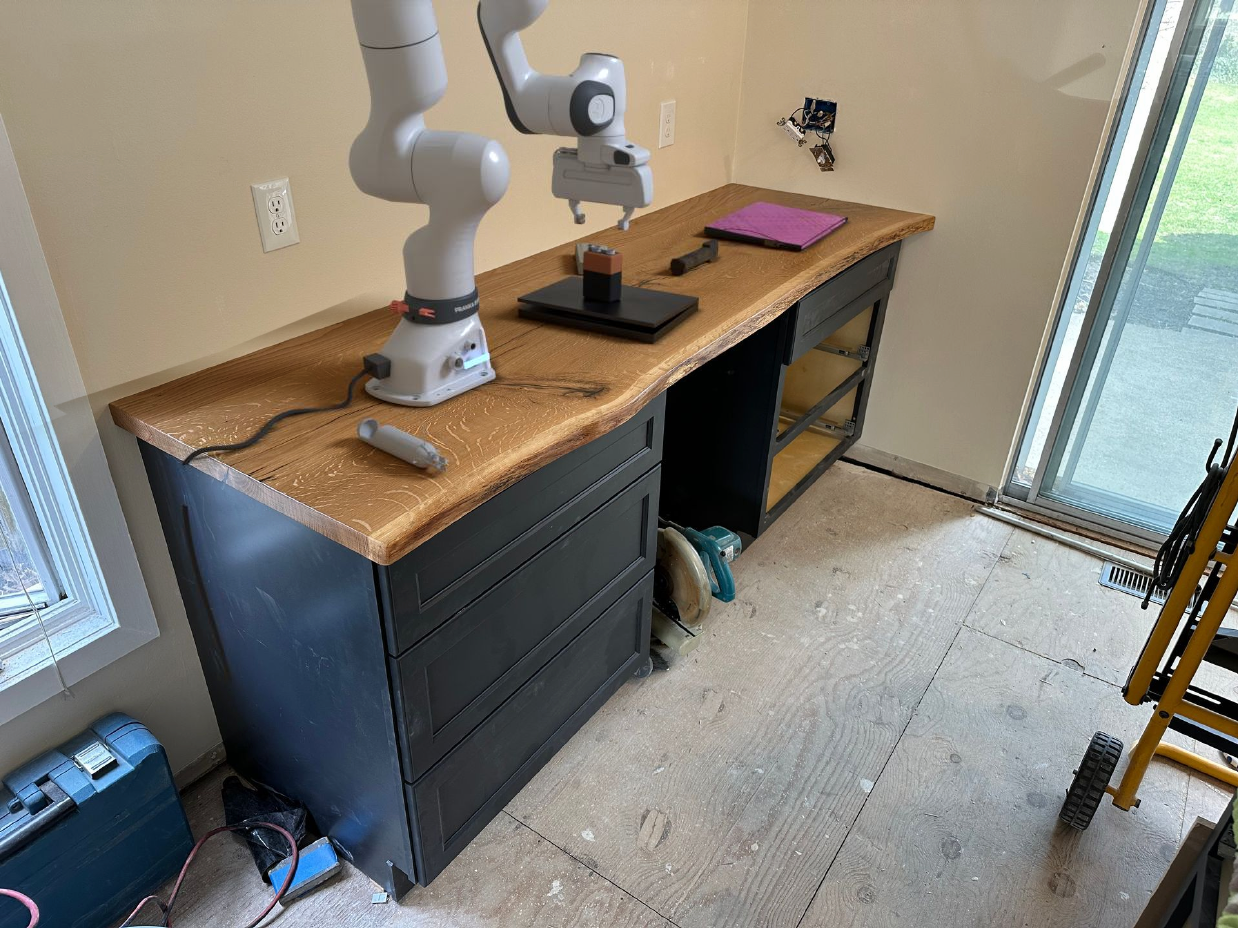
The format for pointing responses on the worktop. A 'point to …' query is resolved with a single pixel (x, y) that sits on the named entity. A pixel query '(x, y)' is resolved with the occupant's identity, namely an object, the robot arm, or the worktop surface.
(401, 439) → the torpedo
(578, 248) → the computer
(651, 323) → the laptop screen
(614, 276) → the battery
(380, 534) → the worktop surface
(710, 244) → the hand tool
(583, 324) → the laptop
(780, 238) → the laptop bag
